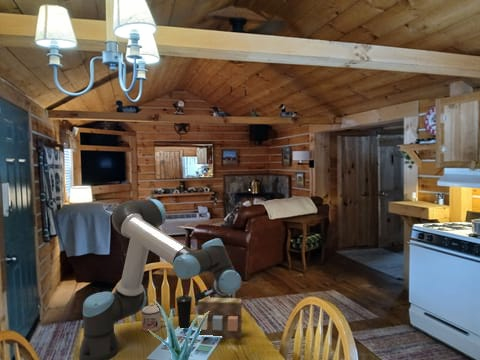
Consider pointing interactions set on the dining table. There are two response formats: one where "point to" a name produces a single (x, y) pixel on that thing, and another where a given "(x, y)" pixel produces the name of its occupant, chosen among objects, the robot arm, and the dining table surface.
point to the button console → (221, 308)
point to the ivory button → (205, 323)
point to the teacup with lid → (151, 318)
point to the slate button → (218, 322)
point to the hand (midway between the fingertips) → (215, 289)
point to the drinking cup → (184, 309)
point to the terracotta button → (232, 323)
